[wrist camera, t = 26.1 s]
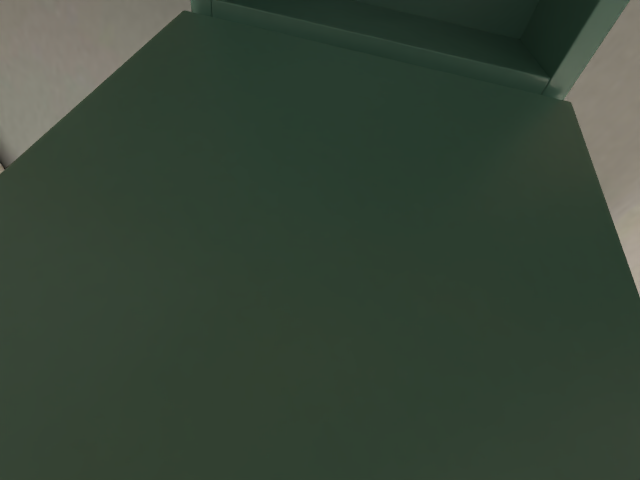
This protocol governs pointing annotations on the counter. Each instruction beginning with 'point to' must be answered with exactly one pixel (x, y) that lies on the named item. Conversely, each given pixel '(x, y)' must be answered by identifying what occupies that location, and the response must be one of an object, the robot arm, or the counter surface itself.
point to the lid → (311, 276)
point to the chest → (447, 33)
